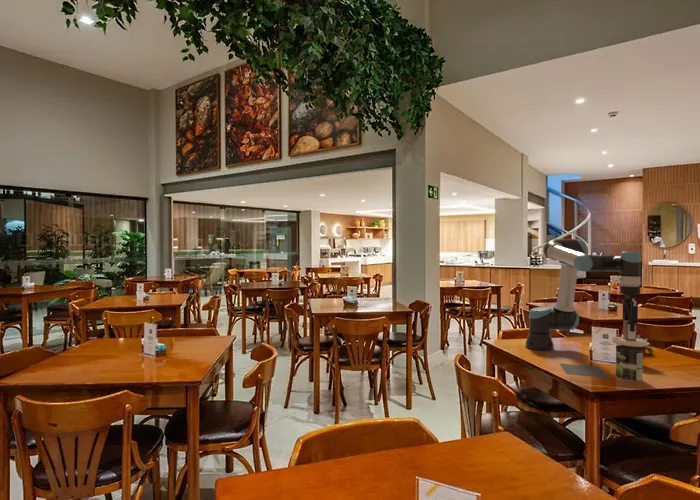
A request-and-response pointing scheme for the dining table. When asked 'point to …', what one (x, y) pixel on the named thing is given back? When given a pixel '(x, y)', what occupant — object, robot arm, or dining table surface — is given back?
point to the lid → (626, 341)
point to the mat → (584, 370)
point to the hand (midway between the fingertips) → (629, 337)
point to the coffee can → (629, 363)
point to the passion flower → (647, 346)
